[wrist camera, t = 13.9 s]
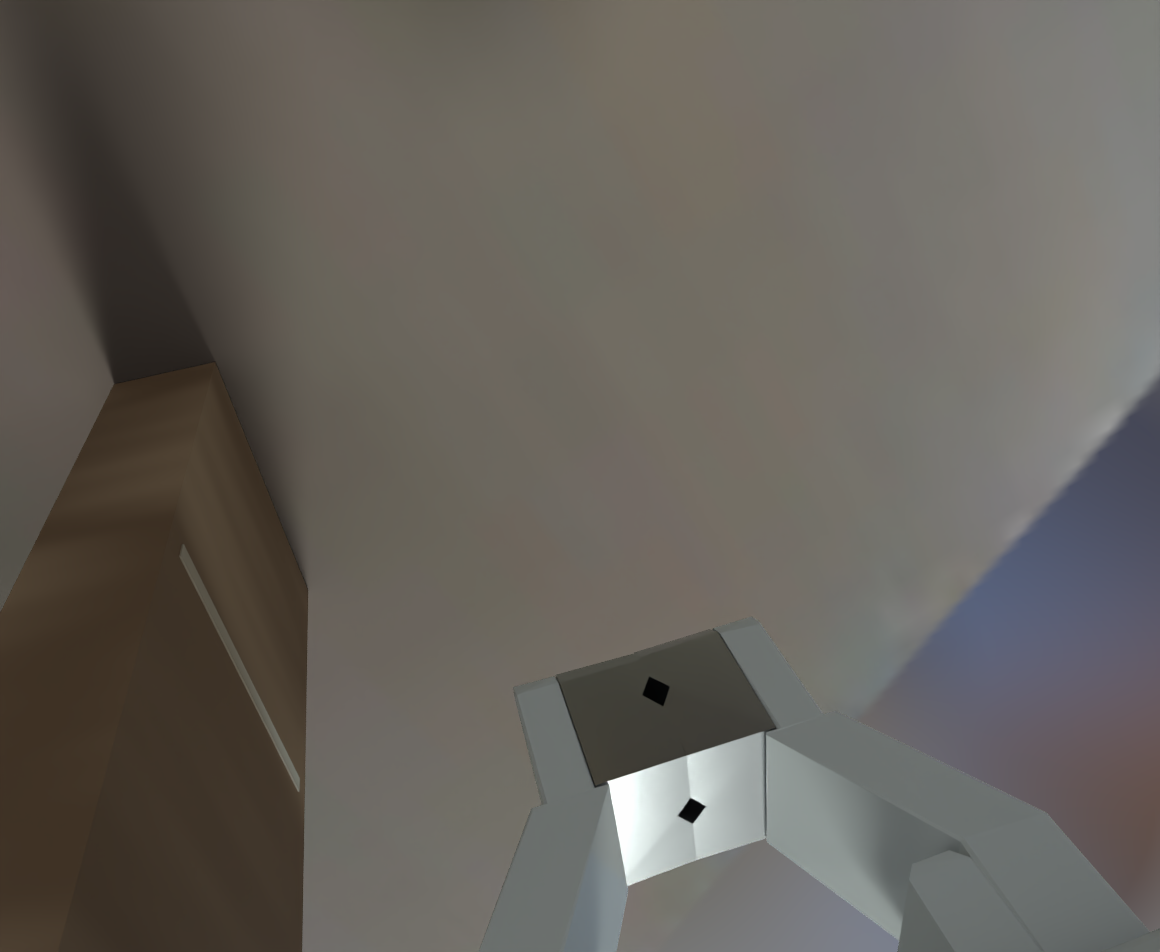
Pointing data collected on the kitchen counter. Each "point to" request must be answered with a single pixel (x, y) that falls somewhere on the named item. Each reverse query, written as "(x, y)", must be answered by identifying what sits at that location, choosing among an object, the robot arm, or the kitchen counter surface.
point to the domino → (155, 694)
